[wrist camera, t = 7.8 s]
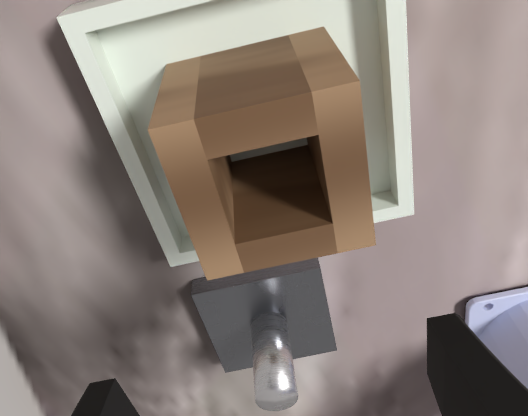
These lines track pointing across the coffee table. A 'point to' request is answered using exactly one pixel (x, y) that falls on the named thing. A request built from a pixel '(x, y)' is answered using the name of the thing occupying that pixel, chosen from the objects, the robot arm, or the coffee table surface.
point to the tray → (227, 37)
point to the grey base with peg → (267, 324)
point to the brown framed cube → (268, 165)
